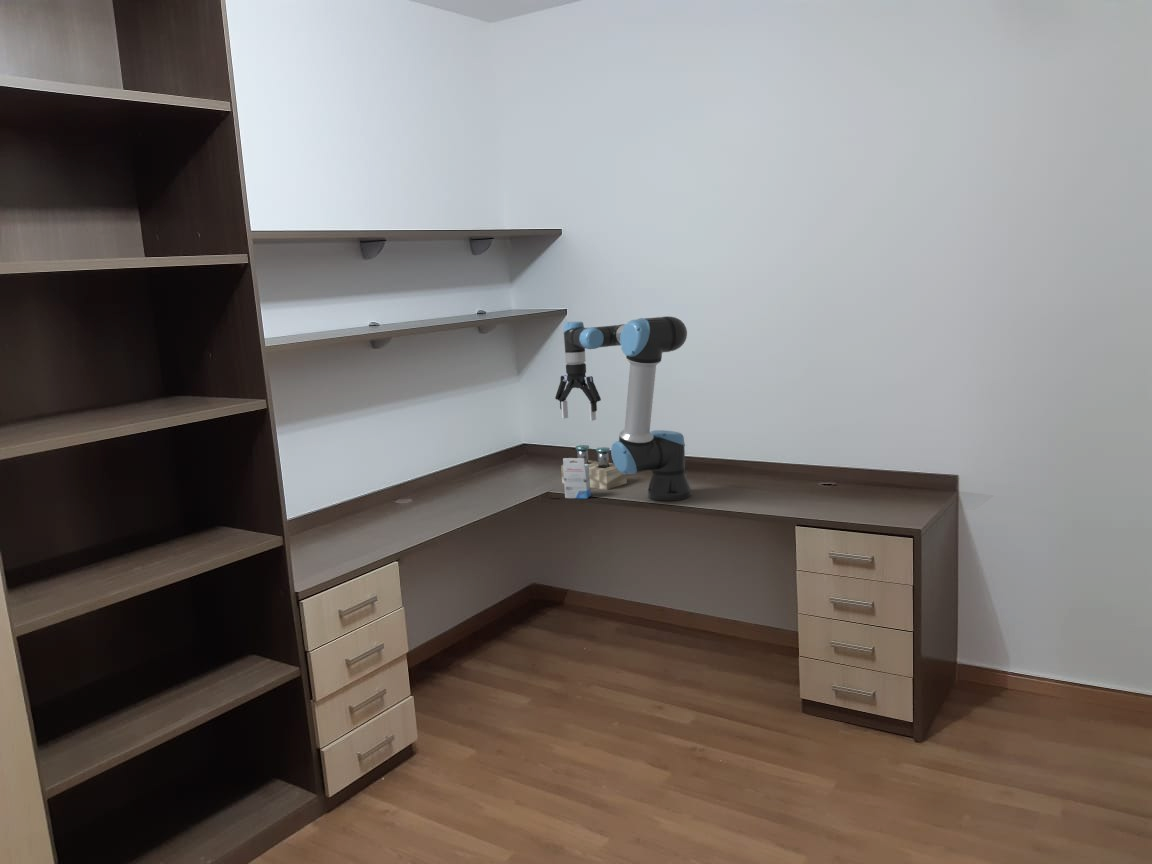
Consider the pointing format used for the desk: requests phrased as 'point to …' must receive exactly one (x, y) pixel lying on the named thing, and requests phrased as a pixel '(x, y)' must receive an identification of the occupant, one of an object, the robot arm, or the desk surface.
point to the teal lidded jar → (583, 452)
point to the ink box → (576, 478)
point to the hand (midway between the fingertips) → (578, 419)
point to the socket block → (603, 476)
